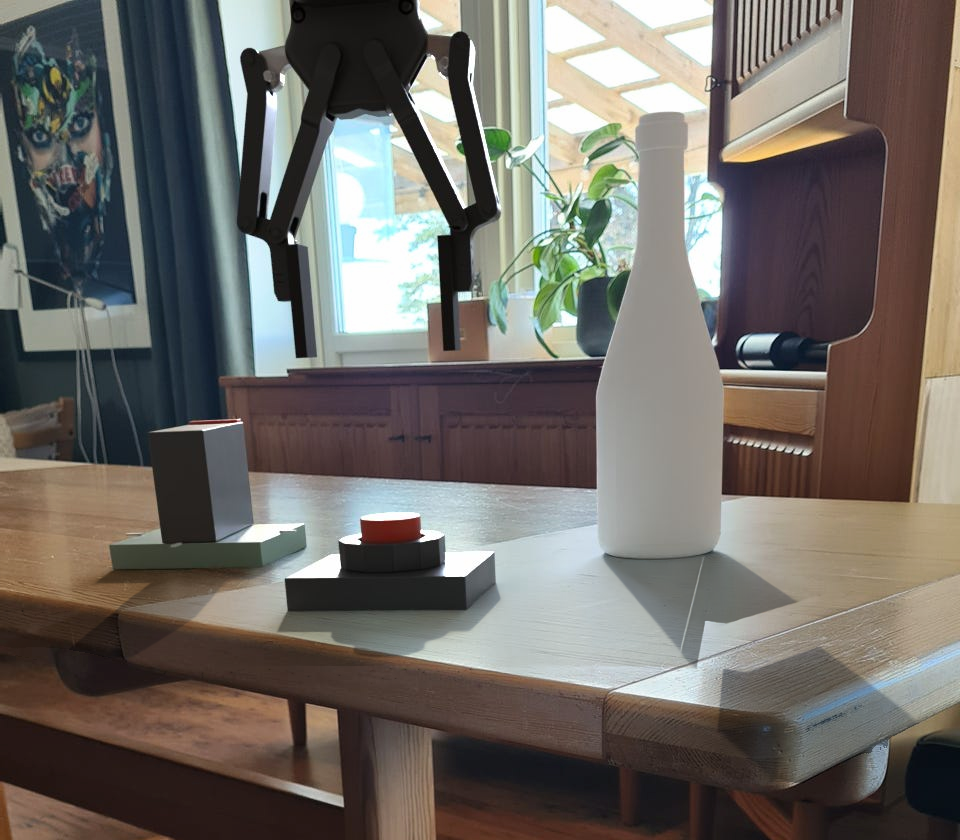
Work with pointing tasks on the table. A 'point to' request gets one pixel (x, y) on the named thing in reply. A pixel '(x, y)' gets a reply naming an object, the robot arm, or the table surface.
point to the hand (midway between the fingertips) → (378, 354)
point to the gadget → (201, 480)
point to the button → (390, 527)
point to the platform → (210, 549)
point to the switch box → (392, 577)
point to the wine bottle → (660, 380)
